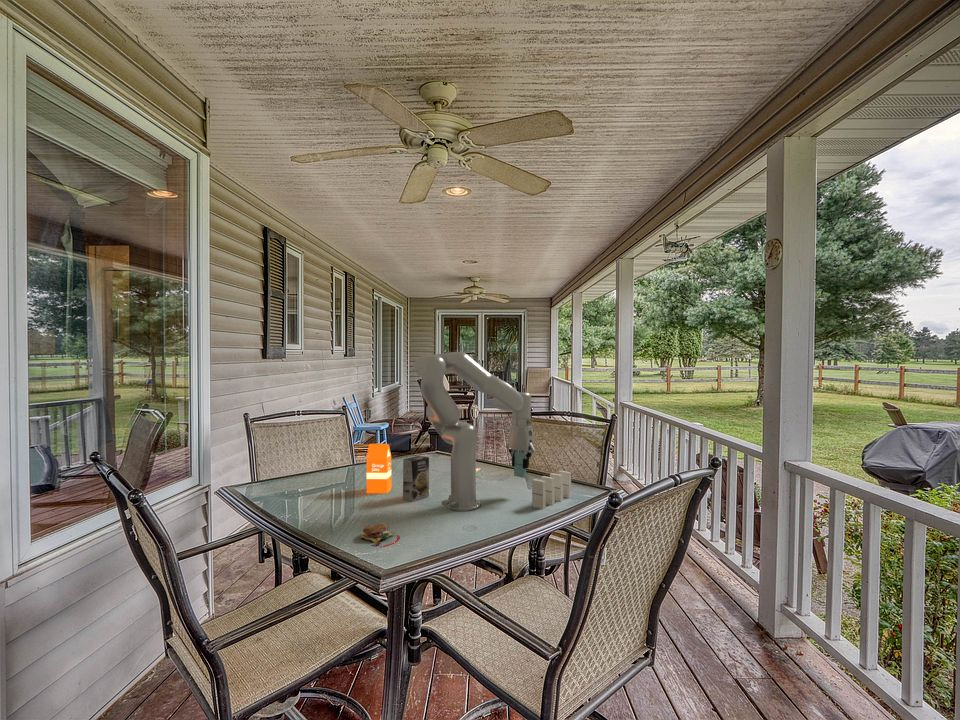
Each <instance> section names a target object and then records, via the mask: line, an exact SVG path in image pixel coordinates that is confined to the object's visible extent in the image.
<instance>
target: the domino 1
mask: <svg viewBox="0 0 960 720" xmlns="http://www.w3.org/2000/svg"><path fill="white" fill-rule="evenodd" d="M526 454H527V452H526ZM514 457H515V460H514V467H513V476H514V477H518V478H523V479H525V478H527V468H526V469H523V459H524V455H523V451H519V450H518V451H515V452H514Z"/></svg>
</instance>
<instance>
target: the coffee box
mask: <svg viewBox="0 0 960 720" xmlns="http://www.w3.org/2000/svg"><path fill="white" fill-rule="evenodd" d="M402 464H403V465H402V499H403V500H406V501H409V502H415V501H416V500H417V501H419V499H420V500H422V498H423V499H425V497H426V498H428V496H429V497H430V457H429V456H421V455H416V456H411V457H408V458H403V460H402Z"/></svg>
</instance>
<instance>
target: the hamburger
mask: <svg viewBox="0 0 960 720" xmlns="http://www.w3.org/2000/svg"><path fill="white" fill-rule="evenodd" d="M360 534H361V535H360V539H362V538H364V540H366V541H372V542H373V543H374V544H371V547H374V546H375V547H380V548H386V547H389V546H392V545H394V544H396V543H398V541H400V535H398V534H397V535H396V539H395V540H394V541H393V542H390V543H388V544H384V545H382V543H381V542H380V541H381V540H382V539H386V538H387V539H388V538H389V537H390V536H393V533H392V532H391V530H390V527H388V525H386V524H384V523H379V522H378V523H375V524H370V525H367V526H364V528H363V529H362V530H361V533H360ZM382 546H383V547H382Z"/></svg>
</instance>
